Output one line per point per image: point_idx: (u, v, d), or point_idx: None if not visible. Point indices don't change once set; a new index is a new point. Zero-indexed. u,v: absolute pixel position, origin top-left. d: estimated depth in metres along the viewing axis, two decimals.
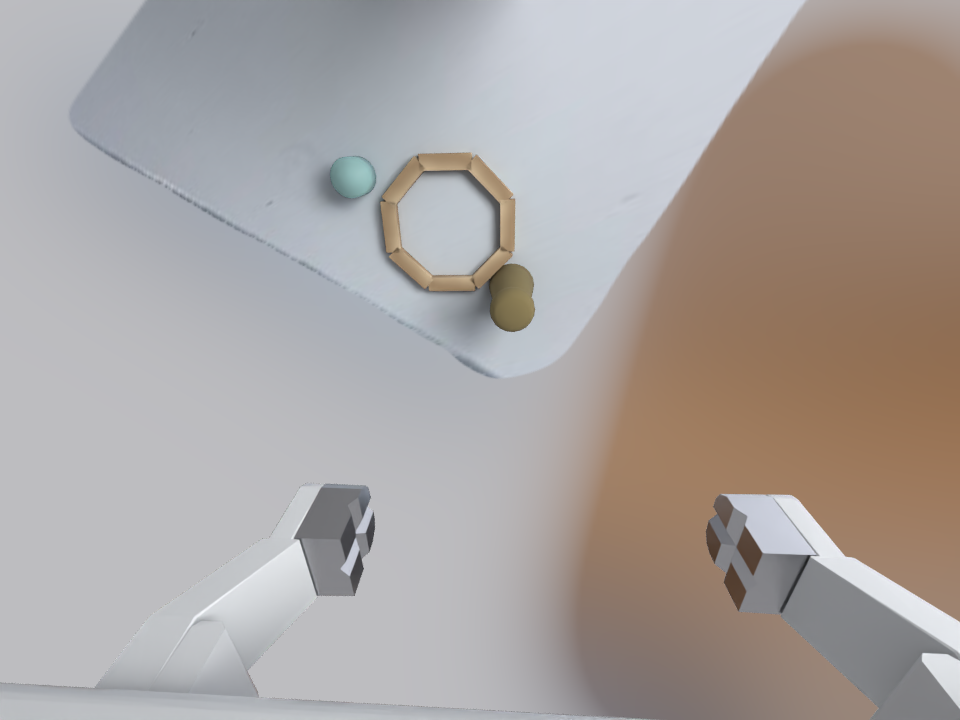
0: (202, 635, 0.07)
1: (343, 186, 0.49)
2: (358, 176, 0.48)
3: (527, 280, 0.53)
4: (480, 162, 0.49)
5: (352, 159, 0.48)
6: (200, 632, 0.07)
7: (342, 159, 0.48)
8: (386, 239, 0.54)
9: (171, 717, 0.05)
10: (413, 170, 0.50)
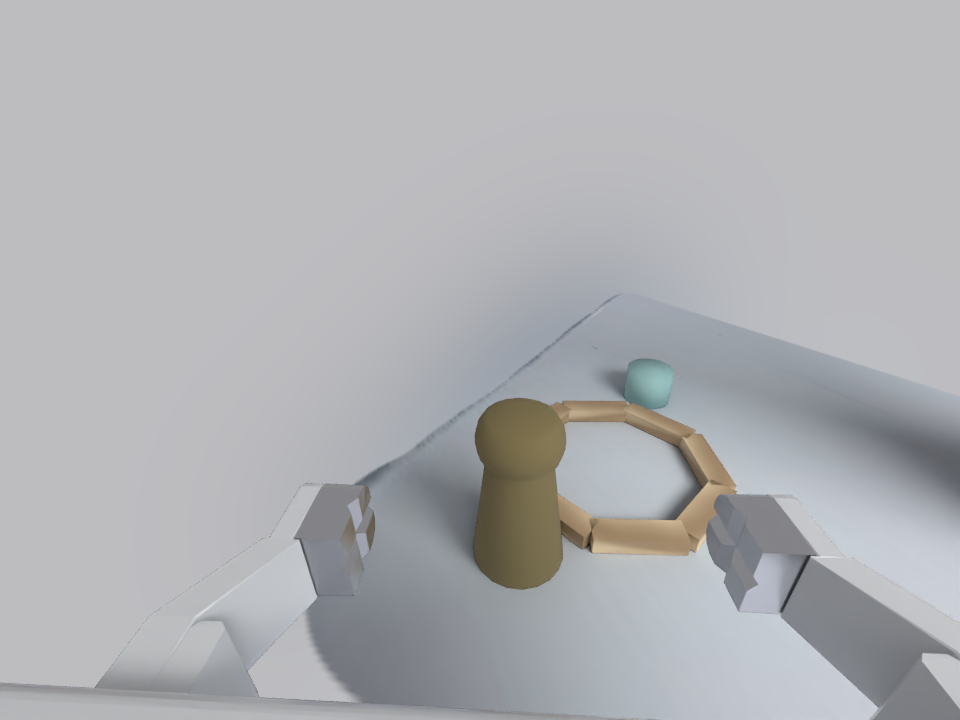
0: (202, 635, 0.07)
1: (639, 365, 0.44)
2: (656, 374, 0.42)
3: (547, 539, 0.25)
4: None
5: (672, 372, 0.42)
6: (200, 632, 0.07)
7: (669, 366, 0.43)
8: (579, 402, 0.42)
9: (171, 717, 0.05)
10: (678, 428, 0.37)
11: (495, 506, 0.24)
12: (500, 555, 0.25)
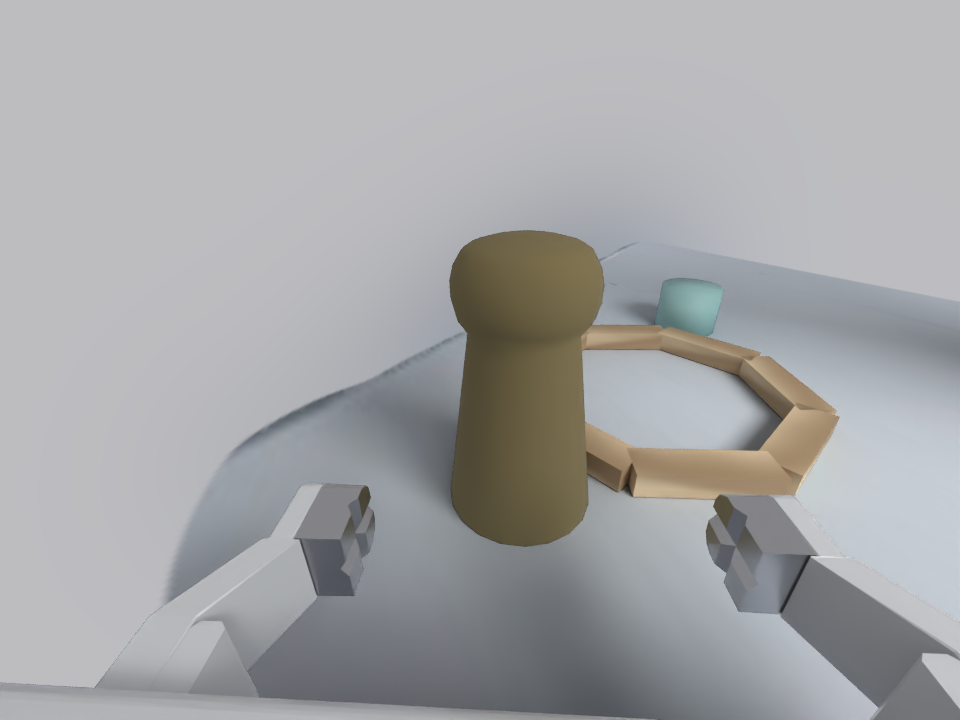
0: (202, 635, 0.07)
1: (677, 283, 0.34)
2: (700, 290, 0.32)
3: (567, 463, 0.15)
4: (829, 422, 0.21)
5: (721, 289, 0.32)
6: (200, 632, 0.07)
7: (715, 285, 0.33)
8: (599, 325, 0.32)
9: (171, 717, 0.05)
10: (736, 351, 0.28)
11: (483, 403, 0.15)
12: (490, 488, 0.15)
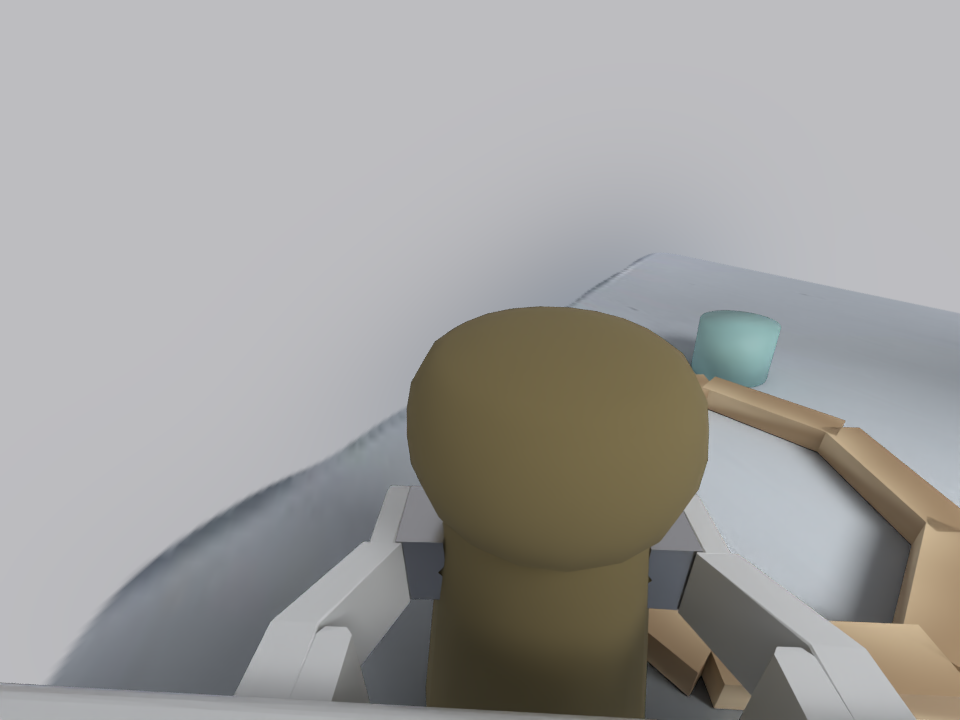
0: (330, 641, 0.06)
1: (718, 318, 0.27)
2: (752, 328, 0.25)
3: None
4: None
5: (777, 324, 0.26)
6: (327, 638, 0.06)
7: (765, 318, 0.27)
8: None
9: (171, 717, 0.05)
10: (812, 418, 0.21)
11: (473, 631, 0.08)
12: None
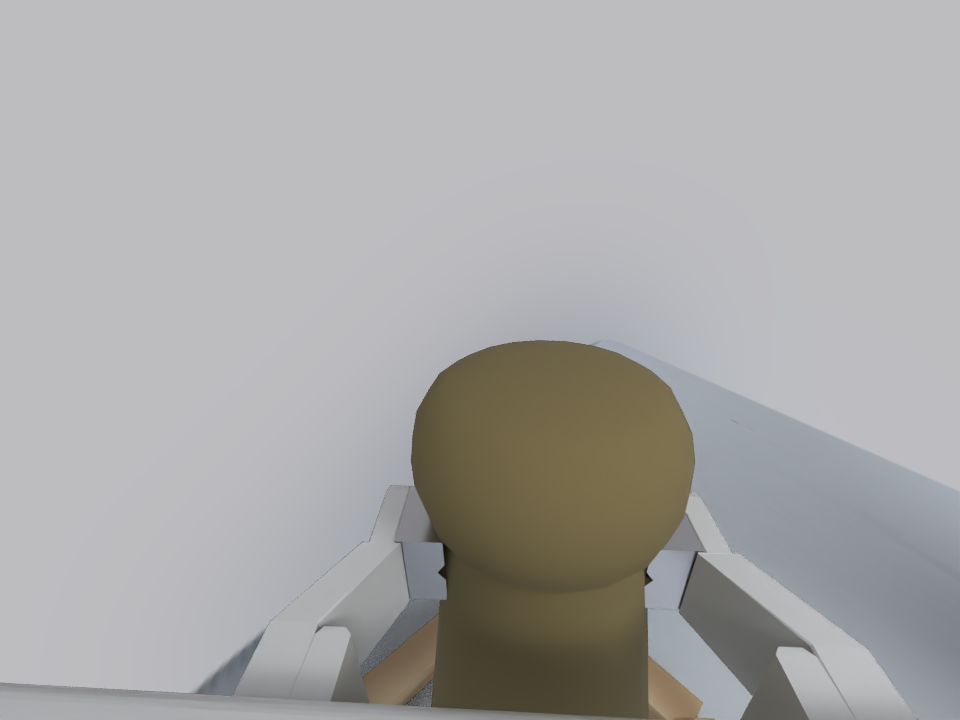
0: (329, 641, 0.06)
1: None
2: None
3: None
4: None
5: None
6: (326, 638, 0.06)
7: None
8: None
9: (171, 717, 0.05)
10: (668, 697, 0.19)
11: (471, 651, 0.08)
12: None
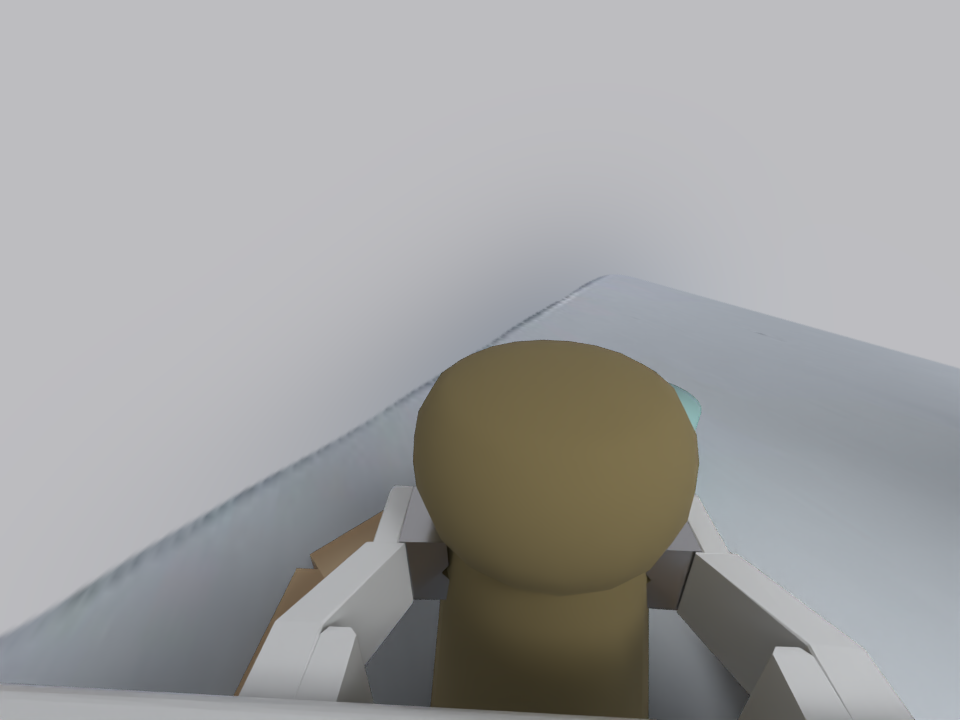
0: (335, 642, 0.06)
1: None
2: None
3: None
4: None
5: (690, 396, 0.21)
6: (332, 638, 0.06)
7: None
8: None
9: (171, 717, 0.05)
10: None
11: (472, 653, 0.08)
12: None
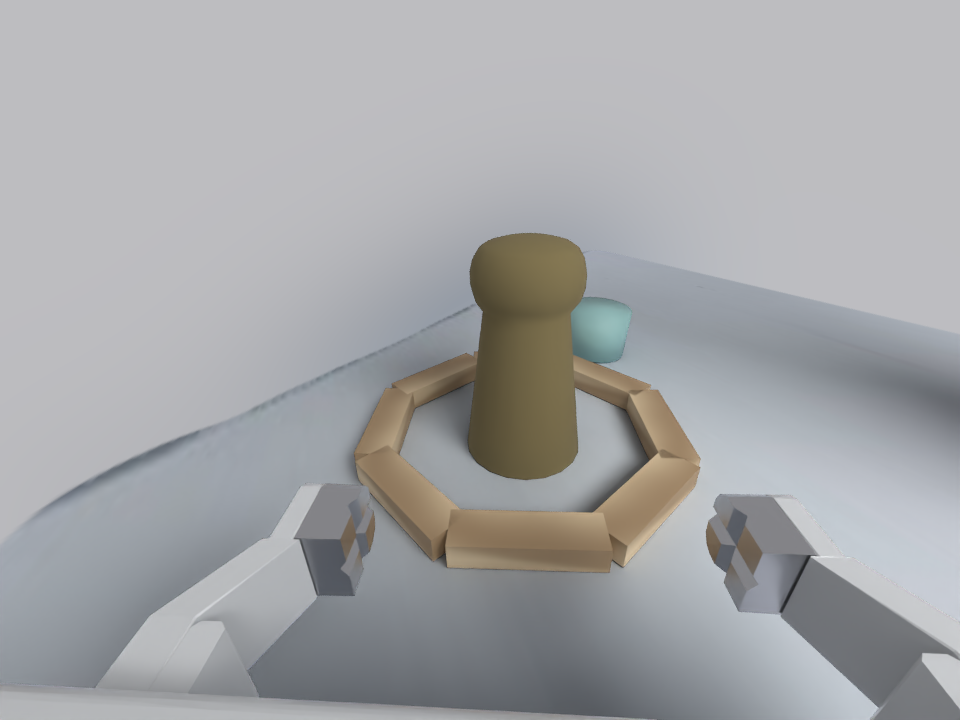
0: (202, 635, 0.07)
1: (586, 308, 0.31)
2: (617, 310, 0.31)
3: (559, 414, 0.20)
4: (686, 474, 0.19)
5: (619, 302, 0.32)
6: (201, 632, 0.07)
7: (604, 299, 0.33)
8: None
9: (171, 717, 0.05)
10: (625, 383, 0.26)
11: (494, 365, 0.19)
12: (499, 433, 0.20)
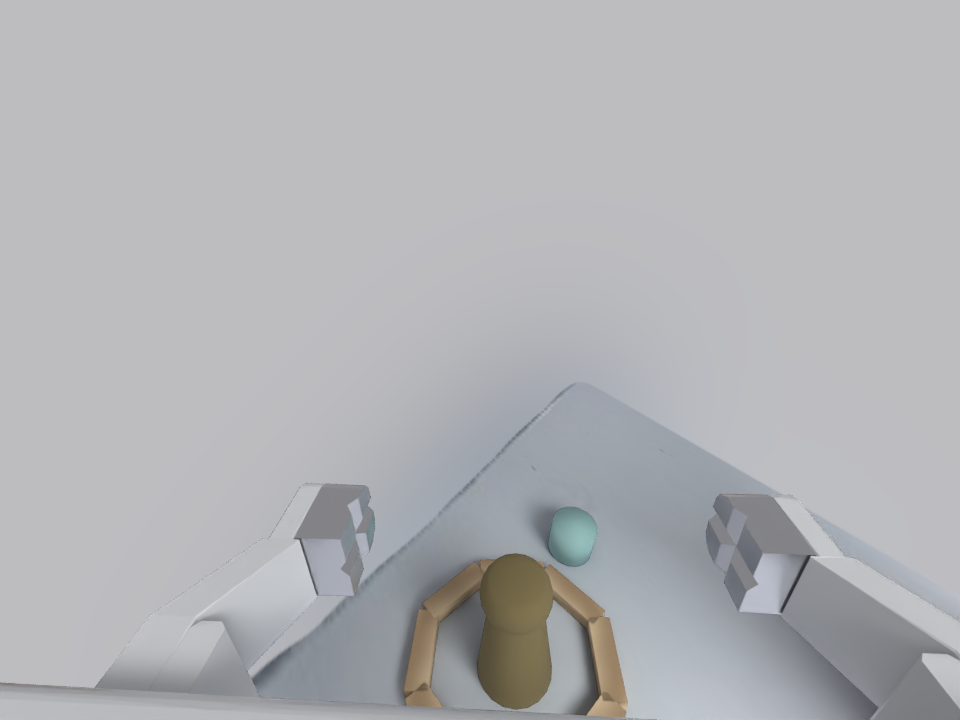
0: (202, 635, 0.07)
1: (567, 530, 0.41)
2: (586, 523, 0.42)
3: (536, 672, 0.31)
4: None
5: (579, 509, 0.44)
6: (200, 632, 0.07)
7: (568, 508, 0.44)
8: None
9: (171, 717, 0.05)
10: (587, 608, 0.37)
11: (495, 646, 0.30)
12: (498, 682, 0.31)
